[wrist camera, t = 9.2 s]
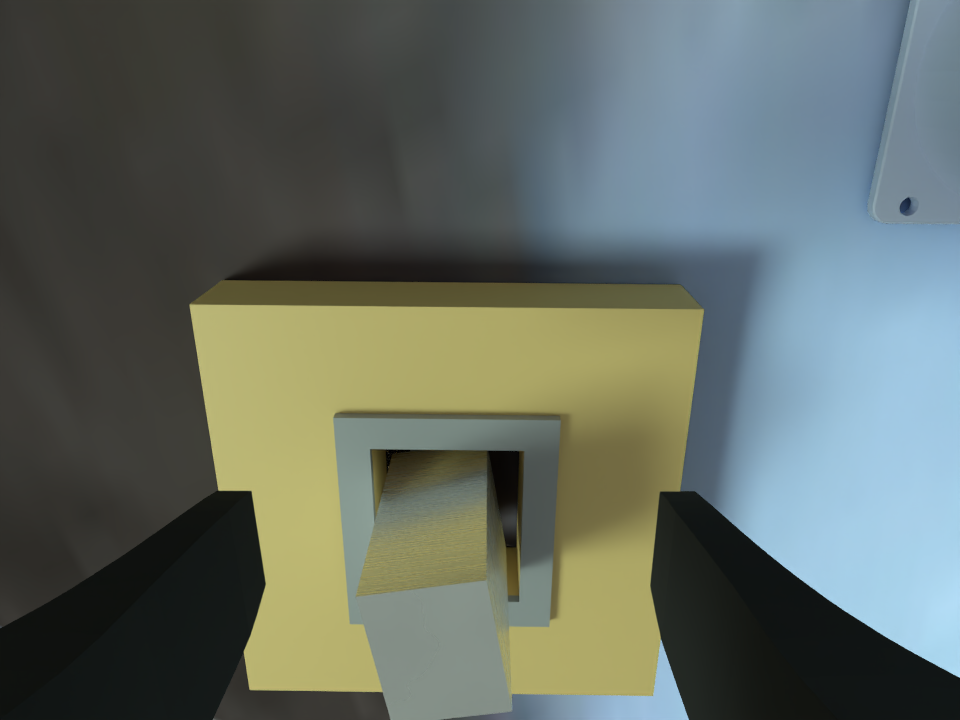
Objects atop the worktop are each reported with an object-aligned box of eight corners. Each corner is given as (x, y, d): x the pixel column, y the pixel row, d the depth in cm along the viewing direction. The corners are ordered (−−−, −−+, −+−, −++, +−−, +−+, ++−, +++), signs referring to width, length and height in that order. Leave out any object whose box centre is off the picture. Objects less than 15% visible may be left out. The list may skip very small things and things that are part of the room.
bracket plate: (680, 284, 21) (707, 312, 18) (638, 641, 26) (655, 703, 24) (222, 280, 21) (184, 307, 19) (270, 636, 26) (246, 696, 24)
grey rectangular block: (486, 418, 23) (486, 580, 15) (504, 519, 24) (511, 711, 17) (397, 431, 23) (355, 596, 16) (421, 530, 25) (392, 724, 17)
